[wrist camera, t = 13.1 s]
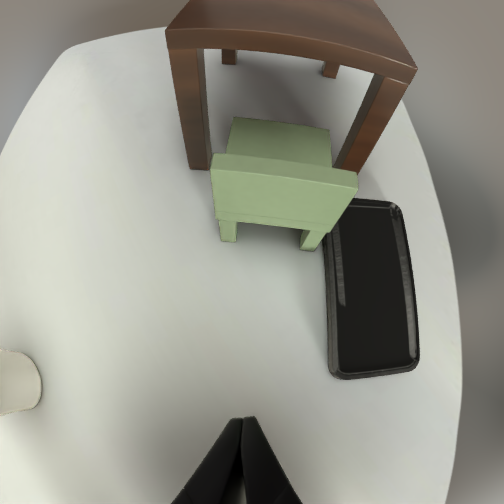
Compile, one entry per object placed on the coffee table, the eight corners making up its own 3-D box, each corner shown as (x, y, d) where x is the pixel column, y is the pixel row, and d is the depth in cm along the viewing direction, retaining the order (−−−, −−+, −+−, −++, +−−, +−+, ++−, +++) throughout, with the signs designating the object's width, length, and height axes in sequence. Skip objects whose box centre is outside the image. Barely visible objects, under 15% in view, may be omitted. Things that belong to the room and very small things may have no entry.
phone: (399, 202, 25) (420, 369, 20) (394, 208, 26) (413, 369, 21) (321, 195, 24) (331, 381, 19) (318, 201, 25) (326, 380, 20)
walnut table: (349, 189, 26) (418, 68, 13) (189, 169, 26) (164, 30, 13) (334, 71, 33) (360, -17, 20) (224, 57, 33) (224, -36, 20)
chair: (316, 252, 24) (359, 189, 15) (218, 240, 24) (209, 169, 15) (316, 164, 27) (344, 89, 18) (232, 153, 27) (233, 72, 18)
